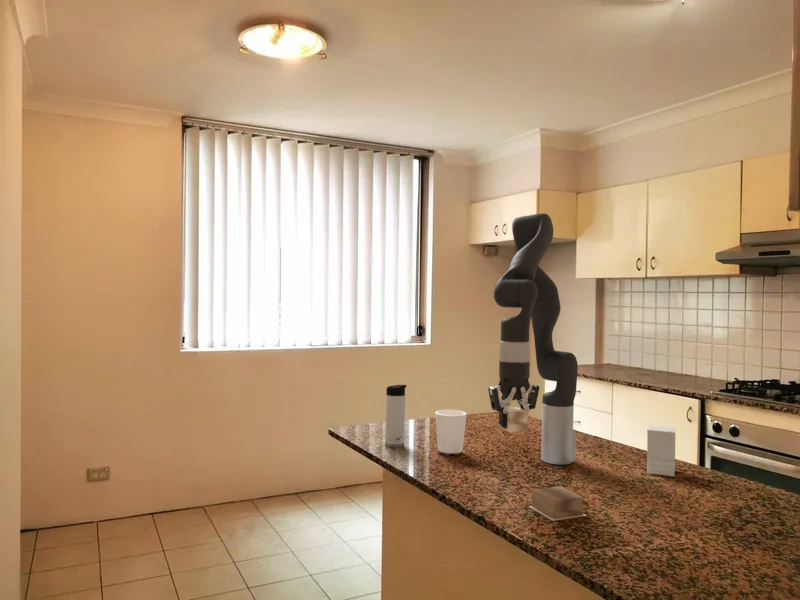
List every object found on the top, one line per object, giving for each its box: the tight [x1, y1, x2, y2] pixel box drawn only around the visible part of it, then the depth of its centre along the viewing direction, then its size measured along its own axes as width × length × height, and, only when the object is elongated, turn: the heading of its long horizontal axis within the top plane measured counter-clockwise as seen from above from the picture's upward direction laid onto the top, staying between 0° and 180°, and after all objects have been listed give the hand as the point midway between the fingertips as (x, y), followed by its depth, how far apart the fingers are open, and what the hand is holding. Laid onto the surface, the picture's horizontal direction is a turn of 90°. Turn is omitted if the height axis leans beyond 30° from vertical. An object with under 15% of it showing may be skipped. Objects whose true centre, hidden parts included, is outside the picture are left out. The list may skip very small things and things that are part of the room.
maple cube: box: [499, 406, 529, 433], centre depth 151 cm, size 5×5×5 cm
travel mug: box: [384, 384, 407, 449], centre depth 198 cm, size 6×7×20 cm
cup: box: [434, 409, 467, 457], centre depth 190 cm, size 10×10×13 cm
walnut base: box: [531, 485, 584, 519], centre depth 138 cm, size 8×8×4 cm
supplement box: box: [646, 424, 676, 477], centre depth 174 cm, size 7×7×13 cm
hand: (513, 426), depth 151 cm, fingers closed on maple cube, 5 cm apart
